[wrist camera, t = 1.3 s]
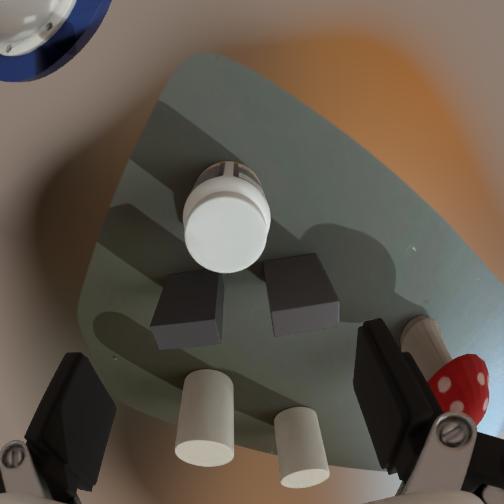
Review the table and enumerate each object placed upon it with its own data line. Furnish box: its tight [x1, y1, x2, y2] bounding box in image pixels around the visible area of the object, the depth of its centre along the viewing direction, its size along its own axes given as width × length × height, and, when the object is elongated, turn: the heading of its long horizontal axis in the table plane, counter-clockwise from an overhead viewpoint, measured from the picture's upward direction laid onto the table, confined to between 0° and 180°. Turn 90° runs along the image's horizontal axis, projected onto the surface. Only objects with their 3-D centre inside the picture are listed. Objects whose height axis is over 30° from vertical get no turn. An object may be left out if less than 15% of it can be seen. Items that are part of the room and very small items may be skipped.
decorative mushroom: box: [400, 315, 489, 426], centre depth 28 cm, size 10×9×15 cm
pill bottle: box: [183, 161, 271, 273], centre depth 23 cm, size 6×6×10 cm
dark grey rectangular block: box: [263, 254, 339, 337], centre depth 27 cm, size 5×2×8 cm, turn 98°
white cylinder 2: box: [274, 407, 330, 488], centre depth 36 cm, size 6×6×10 cm
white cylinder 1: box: [175, 369, 234, 467], centre depth 32 cm, size 6×6×10 cm
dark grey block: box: [150, 269, 224, 350], centre depth 27 cm, size 5×2×8 cm, turn 98°
